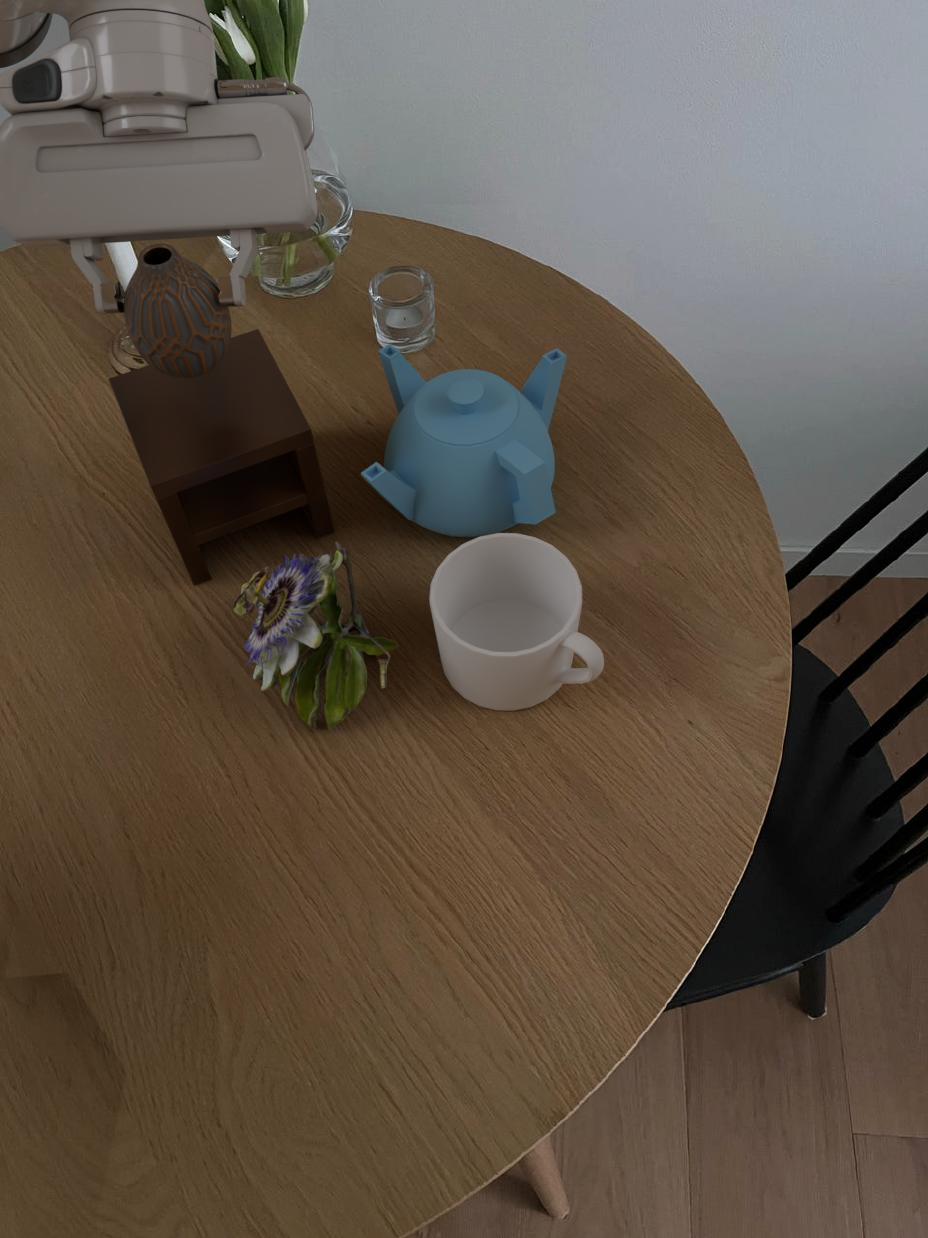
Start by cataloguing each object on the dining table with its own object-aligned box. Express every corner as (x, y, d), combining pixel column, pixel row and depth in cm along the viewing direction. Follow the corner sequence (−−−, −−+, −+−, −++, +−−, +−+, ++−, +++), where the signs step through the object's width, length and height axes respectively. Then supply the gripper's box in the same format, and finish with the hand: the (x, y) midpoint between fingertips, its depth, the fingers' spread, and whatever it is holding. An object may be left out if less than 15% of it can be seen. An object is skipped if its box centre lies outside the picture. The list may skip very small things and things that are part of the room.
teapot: (363, 551, 85) (345, 460, 76) (389, 415, 93) (375, 318, 84) (554, 561, 84) (558, 470, 75) (563, 422, 92) (568, 325, 83)
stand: (193, 586, 84) (150, 486, 74) (153, 483, 90) (108, 378, 80) (335, 532, 86) (311, 428, 76) (286, 435, 93) (258, 328, 83)
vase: (153, 325, 77) (115, 221, 69) (247, 325, 76) (219, 219, 69) (133, 394, 73) (91, 291, 66) (232, 393, 73) (201, 289, 65)
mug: (407, 663, 79) (397, 602, 72) (496, 574, 83) (494, 508, 77) (550, 766, 74) (554, 710, 67) (637, 665, 78) (649, 603, 71)
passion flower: (288, 688, 85) (242, 548, 80) (420, 662, 83) (379, 518, 79) (253, 758, 74) (198, 602, 70) (403, 730, 73) (355, 568, 68)
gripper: (316, 89, 71) (333, 305, 73) (11, 107, 71) (39, 321, 74) (302, 59, 64) (321, 295, 67) (-32, 79, 65) (0, 314, 67)
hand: (171, 309), depth 70 cm, fingers closed on vase, 7 cm apart
